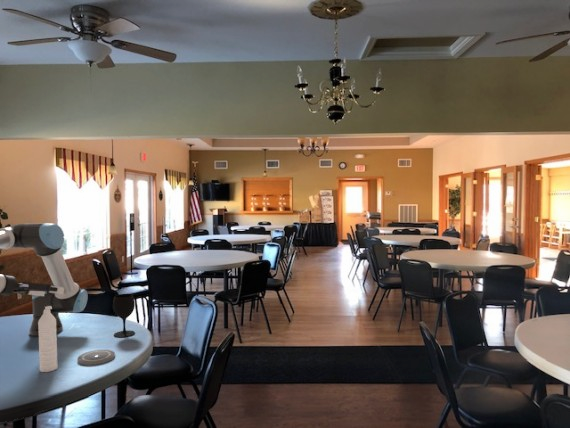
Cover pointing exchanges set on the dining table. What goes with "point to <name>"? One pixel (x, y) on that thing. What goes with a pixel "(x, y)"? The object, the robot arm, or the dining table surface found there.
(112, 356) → the slate coaster
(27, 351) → the dining table surface
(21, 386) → the dining table surface
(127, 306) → the wine glass
